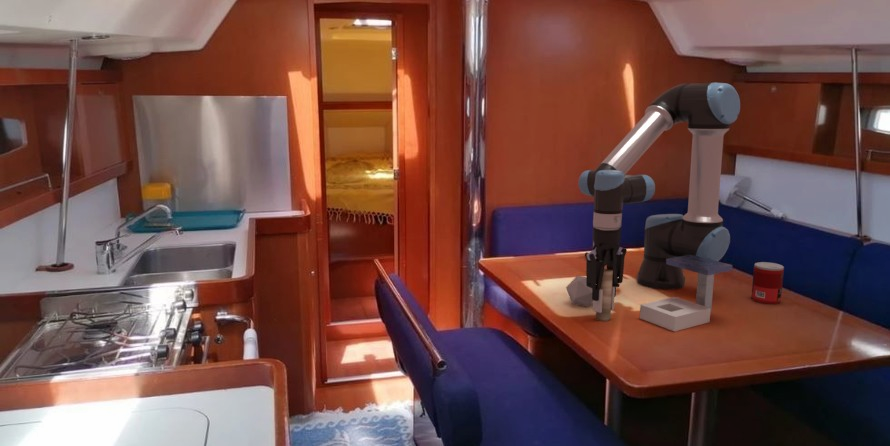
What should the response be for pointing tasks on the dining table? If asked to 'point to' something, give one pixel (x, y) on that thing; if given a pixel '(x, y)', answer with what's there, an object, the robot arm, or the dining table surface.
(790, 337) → the dining table surface
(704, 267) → the slate blue panel
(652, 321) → the socket block
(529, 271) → the dining table surface
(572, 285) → the die
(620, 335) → the dining table surface
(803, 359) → the dining table surface
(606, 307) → the peg
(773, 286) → the canned food
